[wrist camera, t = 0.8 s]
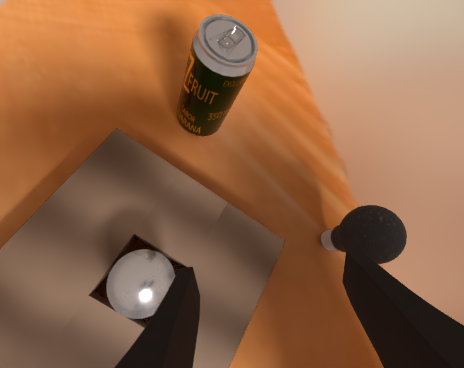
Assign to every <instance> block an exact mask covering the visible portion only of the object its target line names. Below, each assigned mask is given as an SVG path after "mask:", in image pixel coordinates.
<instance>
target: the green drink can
mask: <svg viewBox="0 0 464 368" xmlns="http://www.w3.org/2000/svg"><path fill="white" fill-rule="evenodd" d="M257 50H258V46H257V41H256V39H255V37H254V34H253V33H252V32H251V30H250V29H249V28H248V27H247V26H246V25H245V24H243V23H242V22H241V21H239V20H237V19H235V18H233V17H231V16H227V15H222V14H221V15H211V16H209V17H206V18H205V19H204V20H203V21H202V22H201V24H200V26H199V29H198V30H197V31H196V32H195V35H194V38H193V41H192V46H191V50H190V55H189V59H188V64H187V68H186V72H185V77H184V81H183V86H182V90H181V94H180V99H179V103H178V108H177V117H178V120H179V122H180V124H181V126H182V127H183V128H184V129H185V130H186V131H187V132H188V133H190V134H192V135H195V136H201V137H203V136H208V135H212V134H213V133H215V132H216V131H217V130H218V129H219V127H220V126H221V124H222V122H223V121H224V119H225V117H226V115H227V113H228V112H229V110H230V108H231V106H232V104H233V103H234V101H235V99H236V97H237V95H238V94H239V92H240V90H241V88H242V86H243V85H244V83H245V81H246V79H247V77H248V76H249V74H250V72H251V70H252V68H253V67H254V63H255V59H256V55H257Z"/></svg>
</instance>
